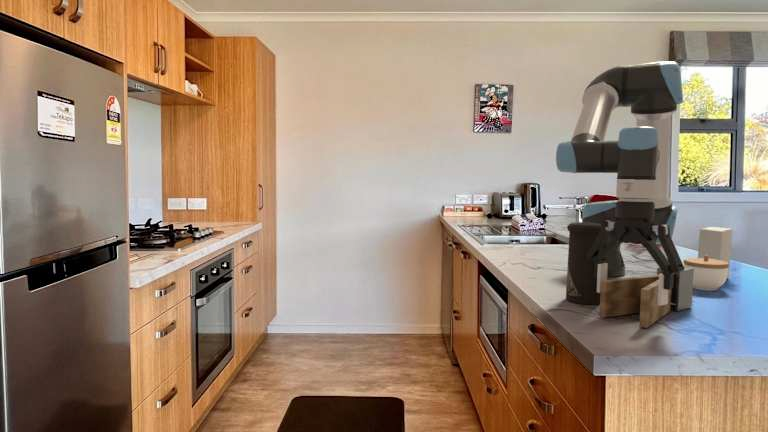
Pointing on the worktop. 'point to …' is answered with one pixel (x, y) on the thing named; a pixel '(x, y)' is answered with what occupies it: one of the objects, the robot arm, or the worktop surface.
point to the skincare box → (715, 244)
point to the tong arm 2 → (652, 305)
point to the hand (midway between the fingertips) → (630, 298)
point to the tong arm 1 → (623, 295)
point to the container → (582, 264)
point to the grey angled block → (681, 288)
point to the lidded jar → (707, 272)
